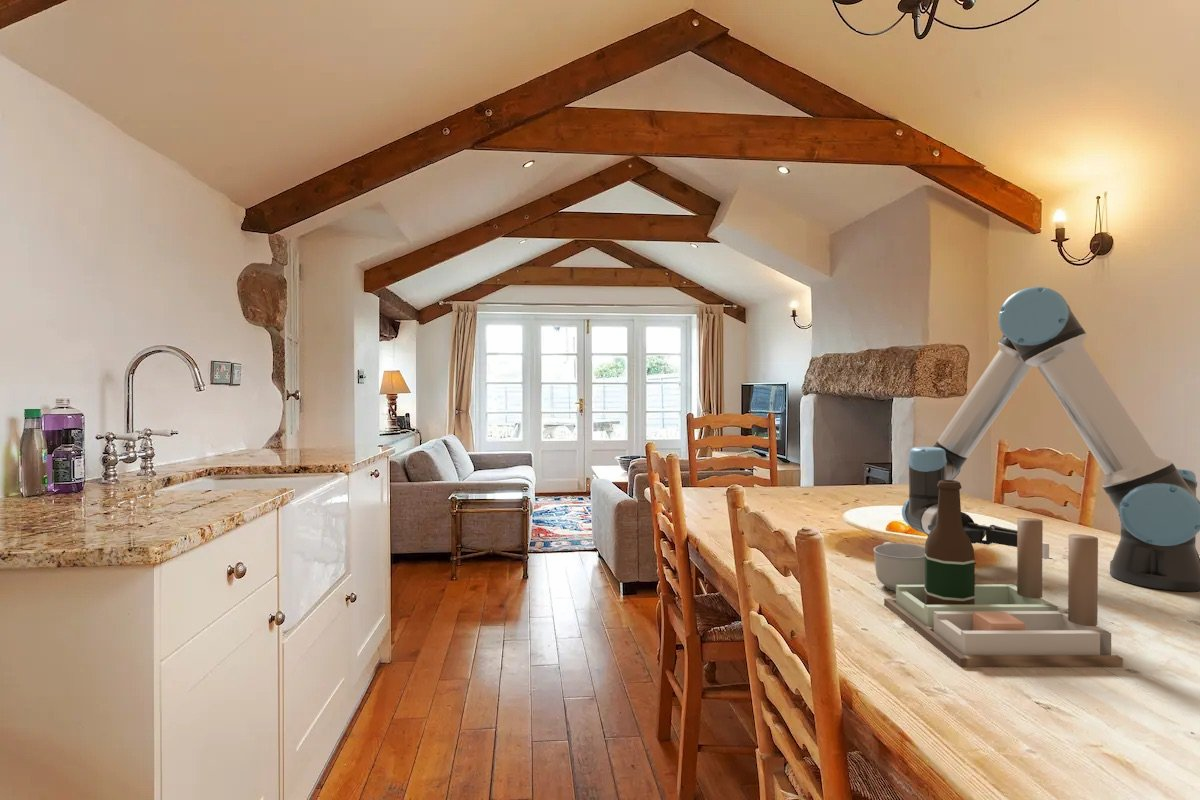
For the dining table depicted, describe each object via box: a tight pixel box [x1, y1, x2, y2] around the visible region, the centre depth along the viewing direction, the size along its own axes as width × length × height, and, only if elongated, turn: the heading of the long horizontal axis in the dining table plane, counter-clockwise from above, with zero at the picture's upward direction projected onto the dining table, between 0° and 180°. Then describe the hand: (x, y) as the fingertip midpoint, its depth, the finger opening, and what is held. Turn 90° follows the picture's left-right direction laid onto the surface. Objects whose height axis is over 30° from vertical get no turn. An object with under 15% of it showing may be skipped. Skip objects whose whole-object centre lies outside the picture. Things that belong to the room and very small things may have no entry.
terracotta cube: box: [973, 612, 1025, 631], centre depth 100 cm, size 5×5×5 cm
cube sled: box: [934, 533, 1112, 655], centre depth 100 cm, size 22×9×17 cm, turn 89°
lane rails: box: [883, 597, 1124, 668], centre depth 107 cm, size 23×26×1 cm
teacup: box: [873, 541, 925, 592], centre depth 131 cm, size 14×11×8 cm
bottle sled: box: [895, 517, 1059, 627], centre depth 112 cm, size 22×12×17 cm, turn 89°
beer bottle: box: [924, 479, 976, 605], centre depth 112 cm, size 8×8×24 cm
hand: (1008, 551), depth 117 cm, fingers open, 13 cm apart
